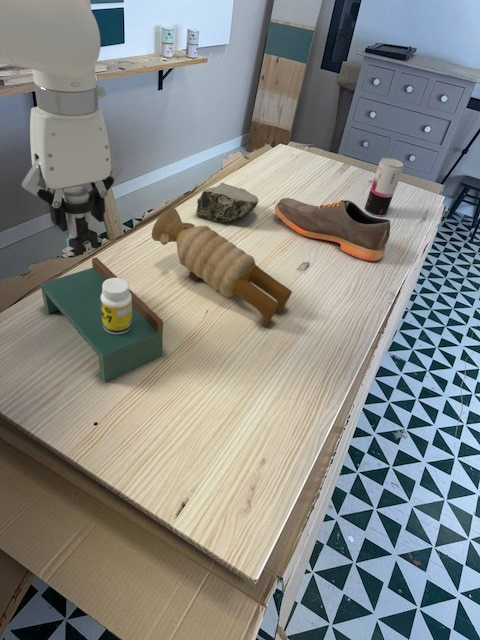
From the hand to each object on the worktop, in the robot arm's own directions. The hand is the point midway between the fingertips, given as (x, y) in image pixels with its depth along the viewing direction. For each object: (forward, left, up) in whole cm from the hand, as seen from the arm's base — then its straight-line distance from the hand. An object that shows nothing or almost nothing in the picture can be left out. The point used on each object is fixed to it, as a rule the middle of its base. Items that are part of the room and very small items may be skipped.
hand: (79, 221), depth 72 cm
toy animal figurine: (+26, -5, -21) cm, 34 cm away
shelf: (+1, -4, -21) cm, 21 cm away
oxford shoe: (+66, -2, -21) cm, 70 cm away
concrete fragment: (+50, +19, -21) cm, 57 cm away
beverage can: (+92, 0, -21) cm, 94 cm away
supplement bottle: (0, -10, -15) cm, 18 cm away
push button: (0, 0, -5) cm, 5 cm away
